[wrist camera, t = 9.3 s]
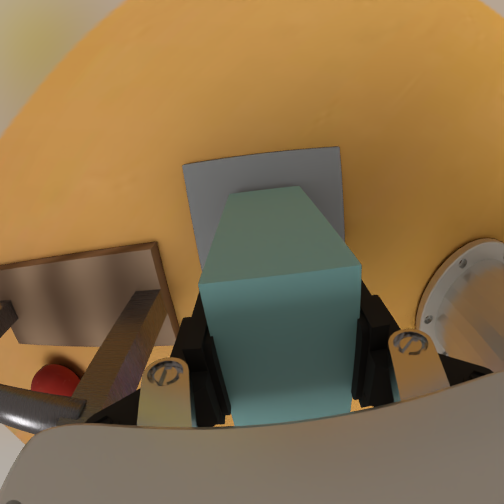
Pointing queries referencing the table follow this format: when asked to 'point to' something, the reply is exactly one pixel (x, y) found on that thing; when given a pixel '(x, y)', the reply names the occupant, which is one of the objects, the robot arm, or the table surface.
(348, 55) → the table surface
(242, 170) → the mat
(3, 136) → the table surface
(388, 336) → the robot arm
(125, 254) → the stand base
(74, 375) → the kendama
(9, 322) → the stand
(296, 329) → the block
